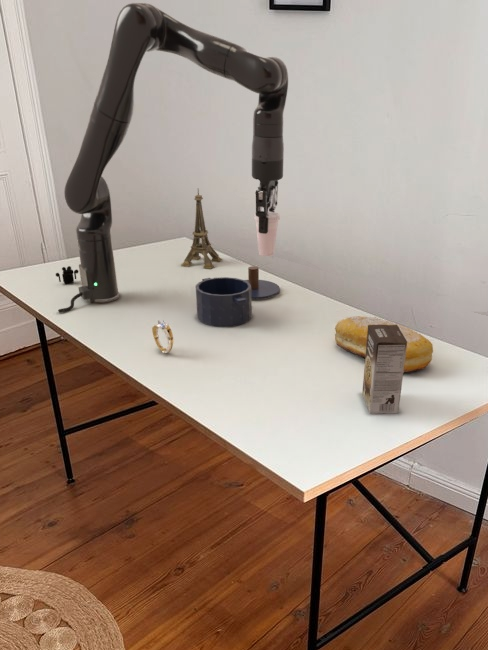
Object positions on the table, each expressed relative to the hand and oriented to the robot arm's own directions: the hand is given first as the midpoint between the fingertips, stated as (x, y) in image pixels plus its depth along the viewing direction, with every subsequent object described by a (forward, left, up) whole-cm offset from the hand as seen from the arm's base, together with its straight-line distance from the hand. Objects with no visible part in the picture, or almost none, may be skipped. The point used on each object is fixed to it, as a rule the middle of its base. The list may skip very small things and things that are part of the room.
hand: (266, 229), depth 171 cm
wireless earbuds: (-35, +56, -24) cm, 71 cm away
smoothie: (0, 0, -6) cm, 6 cm away
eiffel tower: (+9, +54, -24) cm, 60 cm away
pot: (-8, +8, -24) cm, 27 cm away
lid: (+9, +21, -23) cm, 33 cm away
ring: (-32, -5, -24) cm, 41 cm away
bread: (+12, -34, -24) cm, 43 cm away
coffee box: (-4, -53, -24) cm, 58 cm away
